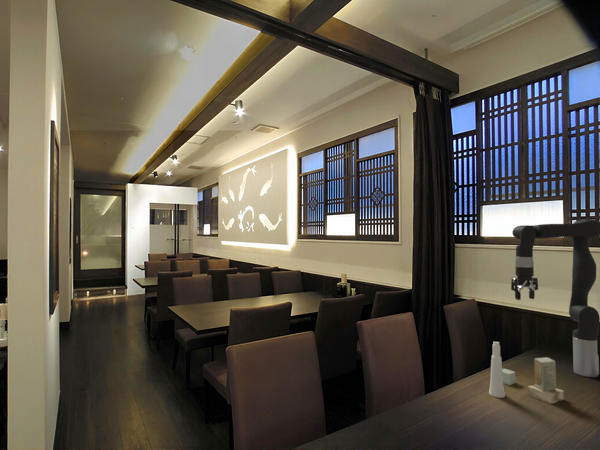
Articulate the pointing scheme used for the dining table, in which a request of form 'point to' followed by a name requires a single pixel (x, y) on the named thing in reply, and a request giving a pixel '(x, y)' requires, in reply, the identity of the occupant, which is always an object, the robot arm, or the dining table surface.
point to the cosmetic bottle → (496, 373)
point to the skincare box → (545, 374)
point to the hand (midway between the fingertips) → (524, 299)
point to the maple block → (546, 394)
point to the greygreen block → (508, 377)
